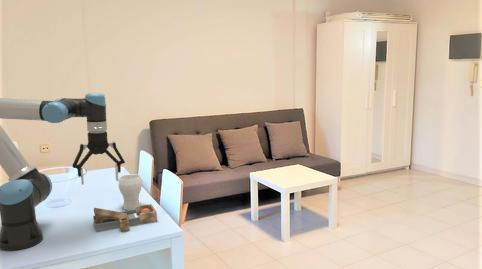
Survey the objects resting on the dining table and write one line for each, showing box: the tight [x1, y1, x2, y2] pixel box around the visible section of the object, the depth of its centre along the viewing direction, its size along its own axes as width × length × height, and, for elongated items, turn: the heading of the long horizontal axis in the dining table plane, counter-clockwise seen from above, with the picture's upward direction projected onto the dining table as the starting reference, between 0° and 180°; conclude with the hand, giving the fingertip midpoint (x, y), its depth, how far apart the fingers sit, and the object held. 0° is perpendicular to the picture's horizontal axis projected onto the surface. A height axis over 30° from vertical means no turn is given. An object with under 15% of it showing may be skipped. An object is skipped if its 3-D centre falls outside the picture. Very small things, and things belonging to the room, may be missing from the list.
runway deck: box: [92, 209, 142, 233], centre depth 171 cm, size 18×11×3 cm, turn 114°
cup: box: [118, 173, 143, 211], centre depth 189 cm, size 11×11×15 cm
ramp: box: [93, 207, 129, 224], centre depth 170 cm, size 14×8×6 cm, turn 114°
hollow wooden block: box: [119, 217, 131, 233], centre depth 164 cm, size 3×3×5 cm
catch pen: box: [136, 203, 158, 225], centre depth 176 cm, size 7×11×4 cm, turn 24°
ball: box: [141, 208, 151, 213], centre depth 176 cm, size 4×4×4 cm
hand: (100, 182), depth 166 cm, fingers open, 13 cm apart
